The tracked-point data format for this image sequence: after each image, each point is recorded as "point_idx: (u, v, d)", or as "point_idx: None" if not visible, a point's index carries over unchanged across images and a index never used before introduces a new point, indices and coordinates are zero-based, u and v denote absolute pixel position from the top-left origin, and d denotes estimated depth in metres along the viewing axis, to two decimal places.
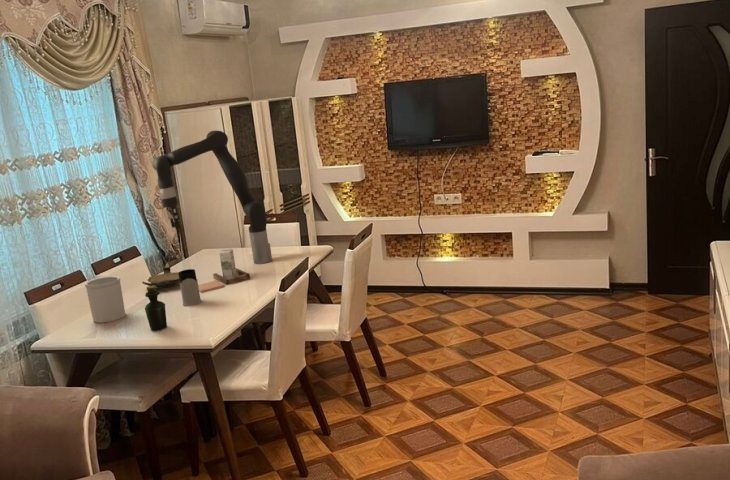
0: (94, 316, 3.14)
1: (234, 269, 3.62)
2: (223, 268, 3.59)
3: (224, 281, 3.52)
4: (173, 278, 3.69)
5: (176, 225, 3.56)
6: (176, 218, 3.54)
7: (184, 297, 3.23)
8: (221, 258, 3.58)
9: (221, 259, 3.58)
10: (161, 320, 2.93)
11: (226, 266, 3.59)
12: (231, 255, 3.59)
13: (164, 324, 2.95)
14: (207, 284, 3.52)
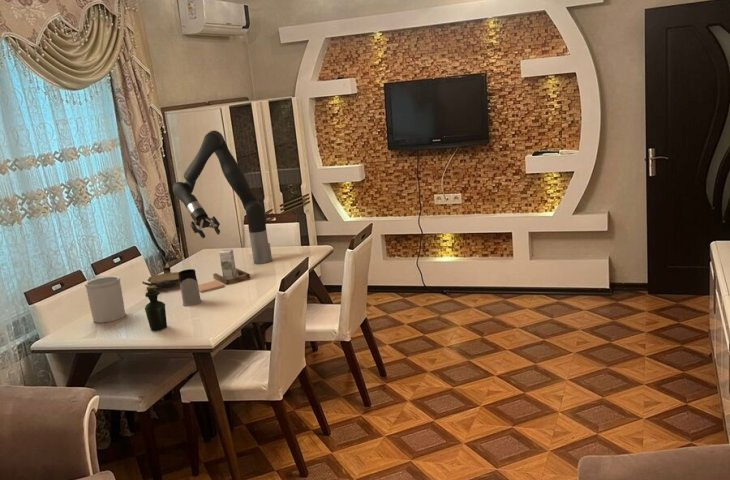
0: (94, 316, 3.14)
1: (234, 269, 3.62)
2: (223, 268, 3.59)
3: (224, 281, 3.52)
4: (173, 278, 3.69)
5: (200, 235, 3.64)
6: (194, 230, 3.64)
7: (184, 297, 3.23)
8: (221, 258, 3.58)
9: (220, 259, 3.58)
10: (161, 320, 2.93)
11: (226, 266, 3.59)
12: (231, 255, 3.59)
13: (164, 324, 2.95)
14: (207, 284, 3.52)
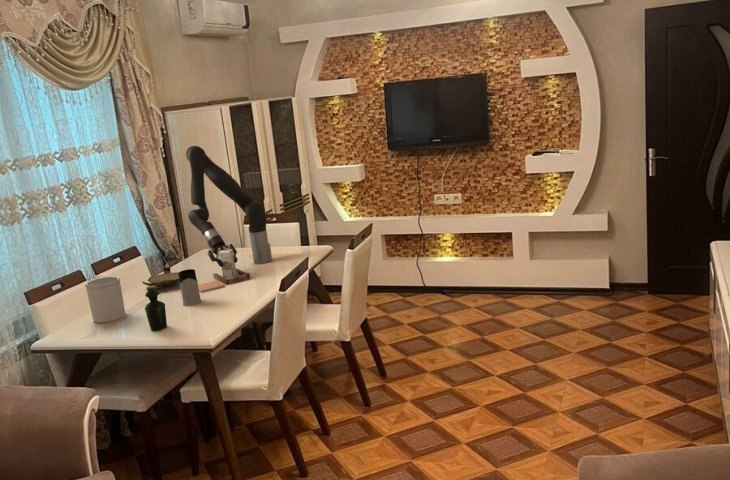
0: (94, 316, 3.14)
1: (234, 269, 3.62)
2: (223, 268, 3.59)
3: (224, 281, 3.52)
4: (173, 278, 3.69)
5: (218, 264, 3.58)
6: (212, 258, 3.58)
7: (184, 297, 3.23)
8: (221, 258, 3.58)
9: (221, 259, 3.58)
10: (161, 320, 2.93)
11: (226, 266, 3.59)
12: (231, 255, 3.59)
13: (164, 324, 2.95)
14: (207, 284, 3.52)
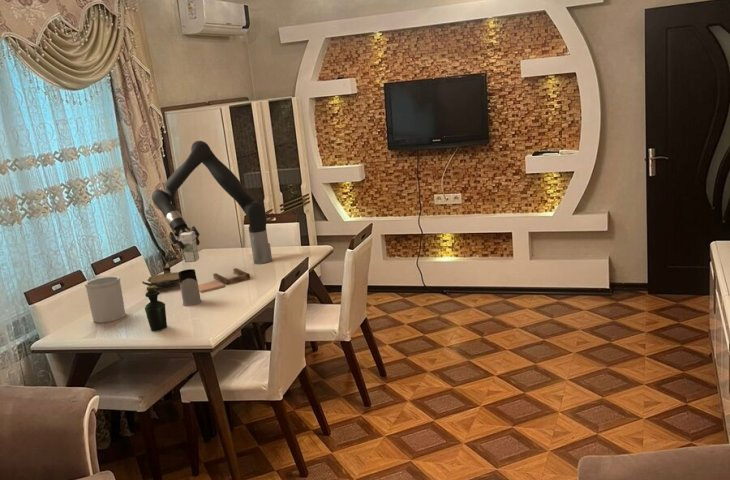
0: (94, 316, 3.14)
1: (196, 252, 3.55)
2: (184, 250, 3.53)
3: (224, 281, 3.52)
4: (173, 278, 3.69)
5: (179, 246, 3.52)
6: (173, 241, 3.52)
7: (184, 297, 3.23)
8: (182, 240, 3.51)
9: (182, 242, 3.52)
10: (161, 320, 2.93)
11: (187, 249, 3.52)
12: (193, 237, 3.52)
13: (164, 324, 2.95)
14: (207, 284, 3.52)
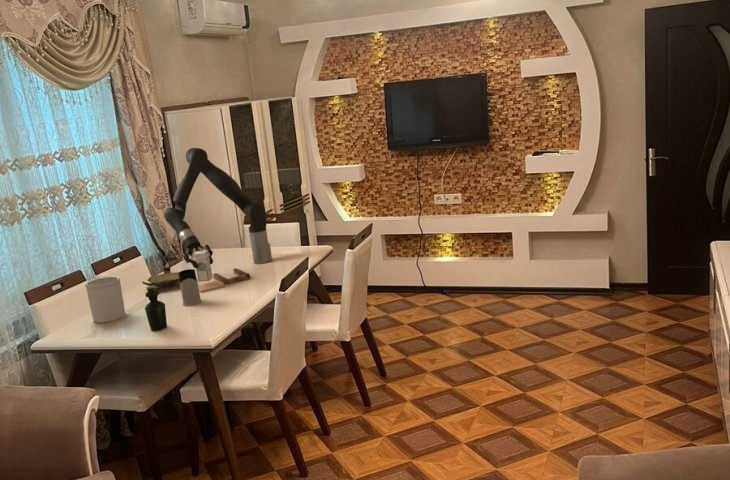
0: (94, 316, 3.14)
1: (209, 271, 3.49)
2: (198, 269, 3.47)
3: (224, 281, 3.52)
4: (173, 278, 3.69)
5: None
6: (186, 260, 3.46)
7: (184, 297, 3.23)
8: (196, 259, 3.46)
9: (195, 260, 3.46)
10: (161, 320, 2.93)
11: (201, 268, 3.46)
12: (206, 256, 3.47)
13: (164, 324, 2.95)
14: (207, 284, 3.52)
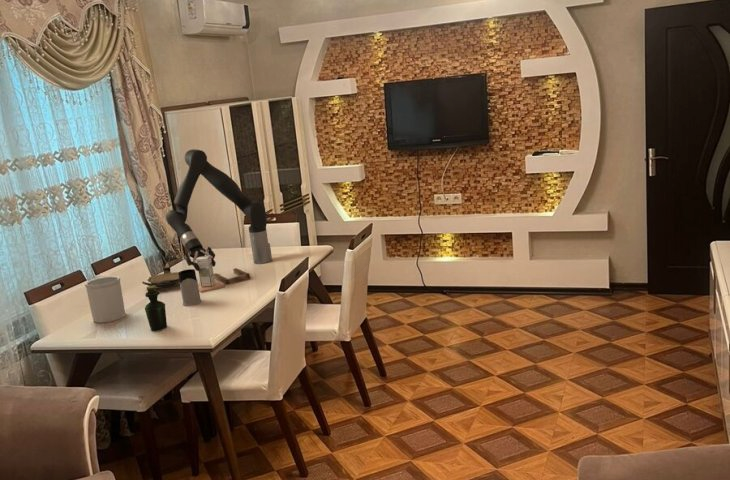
0: (94, 316, 3.14)
1: (212, 276, 3.49)
2: (200, 275, 3.46)
3: (224, 281, 3.52)
4: (173, 278, 3.69)
5: None
6: (188, 262, 3.45)
7: (184, 297, 3.23)
8: (198, 265, 3.45)
9: None
10: (161, 320, 2.93)
11: (204, 273, 3.46)
12: (209, 261, 3.46)
13: (164, 324, 2.95)
14: None
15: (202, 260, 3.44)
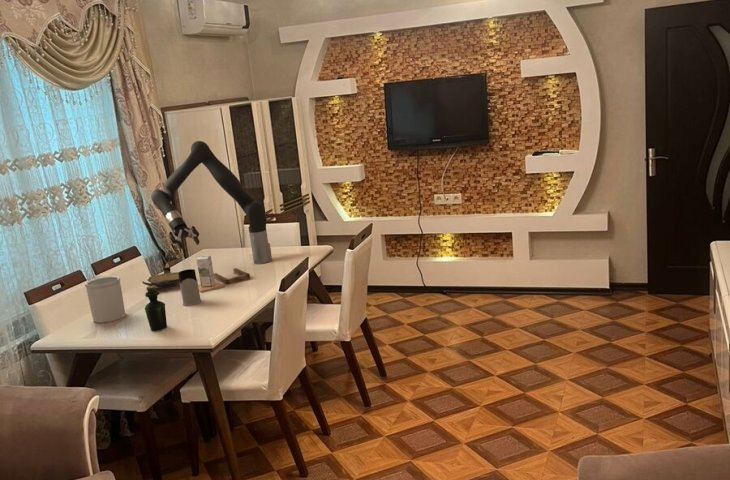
0: (94, 316, 3.14)
1: (212, 276, 3.49)
2: (201, 275, 3.46)
3: (224, 281, 3.52)
4: (173, 278, 3.69)
5: None
6: (173, 240, 3.52)
7: (184, 297, 3.23)
8: (198, 265, 3.45)
9: (198, 266, 3.45)
10: (161, 320, 2.93)
11: (204, 273, 3.46)
12: (209, 262, 3.46)
13: (164, 324, 2.95)
14: None
15: (202, 260, 3.44)
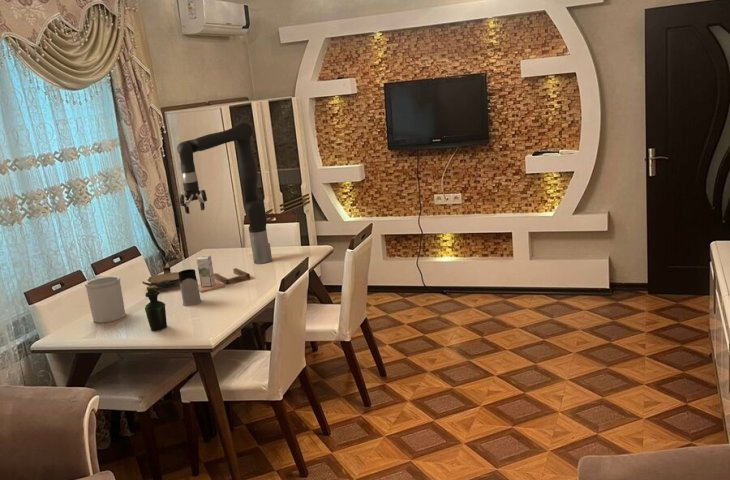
0: (94, 316, 3.14)
1: (212, 276, 3.49)
2: (201, 275, 3.46)
3: (224, 281, 3.52)
4: (173, 278, 3.69)
5: (185, 210, 3.68)
6: (181, 204, 3.66)
7: (184, 297, 3.23)
8: (198, 265, 3.45)
9: (198, 266, 3.45)
10: (161, 320, 2.93)
11: (204, 273, 3.46)
12: (209, 262, 3.46)
13: (164, 324, 2.95)
14: None
15: (202, 260, 3.44)
